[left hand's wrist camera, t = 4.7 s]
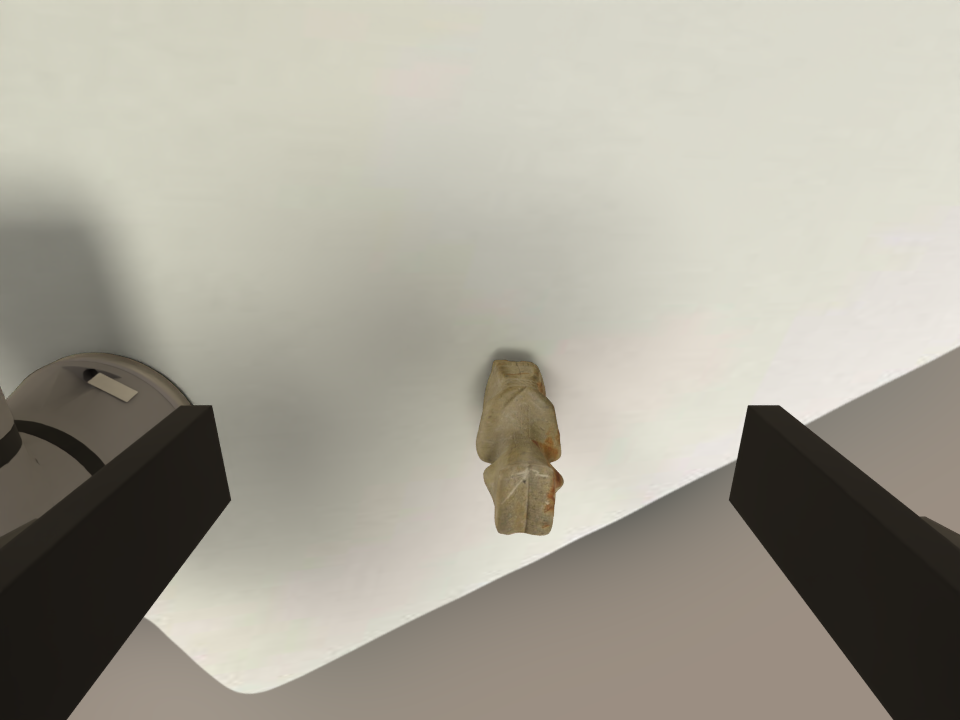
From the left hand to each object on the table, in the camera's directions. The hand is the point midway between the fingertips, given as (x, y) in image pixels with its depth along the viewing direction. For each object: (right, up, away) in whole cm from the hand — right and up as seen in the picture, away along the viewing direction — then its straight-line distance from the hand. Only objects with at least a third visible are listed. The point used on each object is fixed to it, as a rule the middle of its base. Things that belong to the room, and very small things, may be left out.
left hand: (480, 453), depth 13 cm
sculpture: (+3, 0, +31) cm, 31 cm away
